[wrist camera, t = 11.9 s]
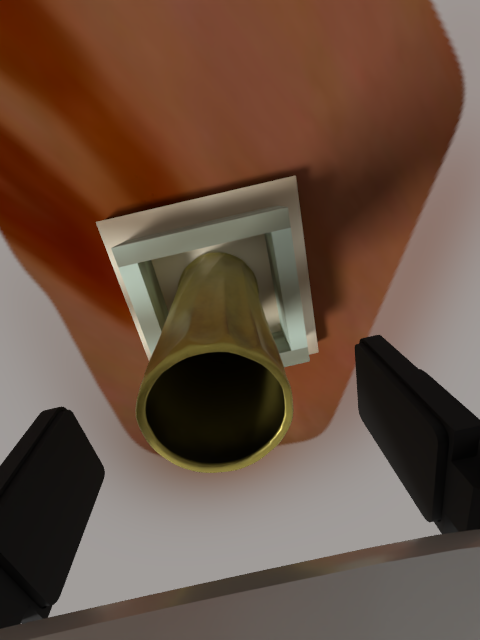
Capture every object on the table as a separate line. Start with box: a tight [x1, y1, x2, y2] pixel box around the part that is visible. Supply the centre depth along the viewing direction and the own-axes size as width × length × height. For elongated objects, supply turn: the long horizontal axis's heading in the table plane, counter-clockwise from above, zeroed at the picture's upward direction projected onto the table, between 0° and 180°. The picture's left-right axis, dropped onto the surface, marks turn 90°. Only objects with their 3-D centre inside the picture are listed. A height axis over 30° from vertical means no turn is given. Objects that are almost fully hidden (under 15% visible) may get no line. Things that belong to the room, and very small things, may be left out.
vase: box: [136, 252, 293, 473], centre depth 17 cm, size 6×6×14 cm
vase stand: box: [96, 175, 318, 367], centre depth 22 cm, size 14×14×5 cm
